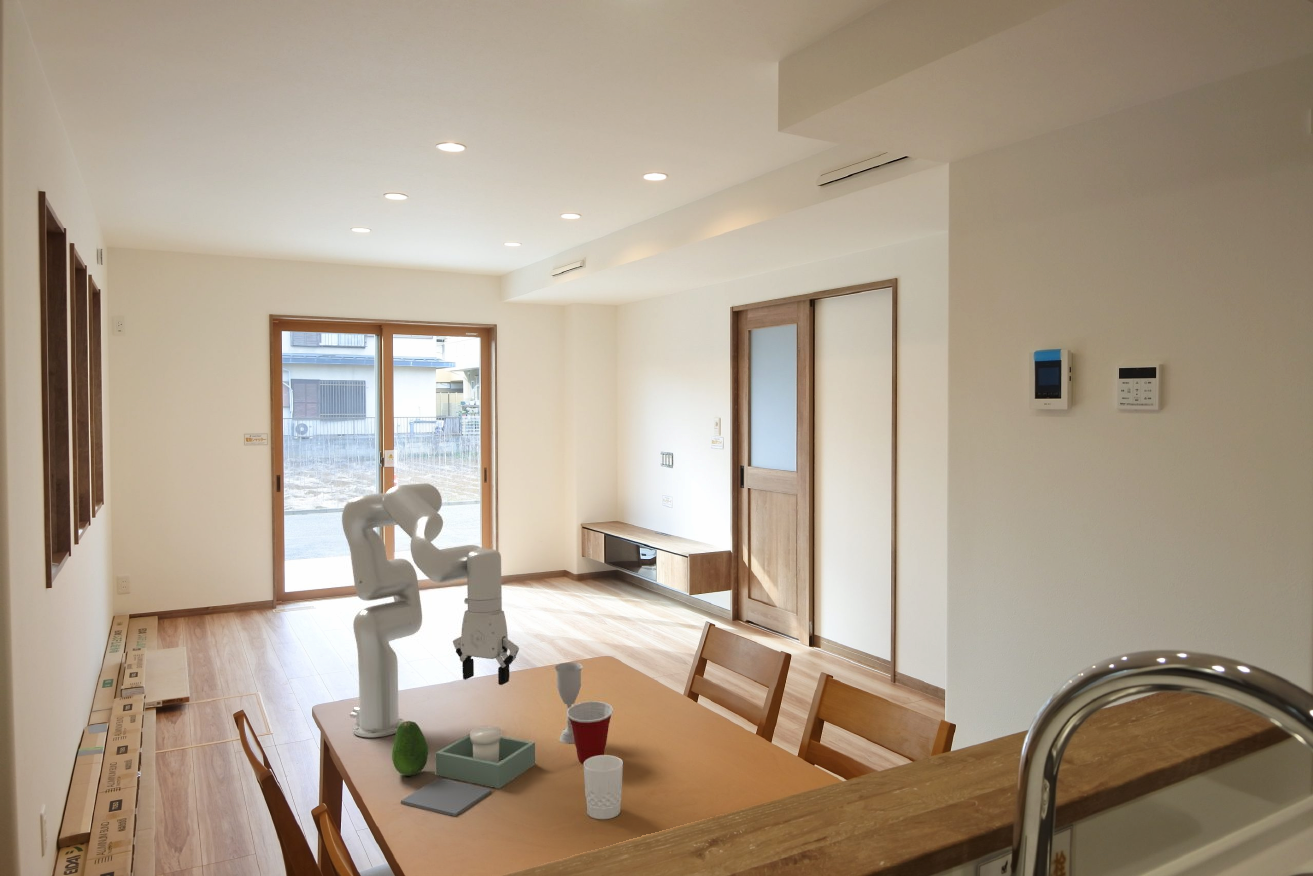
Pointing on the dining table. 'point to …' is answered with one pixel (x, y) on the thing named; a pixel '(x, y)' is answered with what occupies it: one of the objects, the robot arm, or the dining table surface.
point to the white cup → (603, 786)
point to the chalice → (568, 691)
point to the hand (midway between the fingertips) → (485, 680)
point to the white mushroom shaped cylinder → (486, 743)
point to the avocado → (409, 749)
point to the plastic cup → (590, 727)
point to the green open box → (485, 762)
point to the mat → (446, 796)
